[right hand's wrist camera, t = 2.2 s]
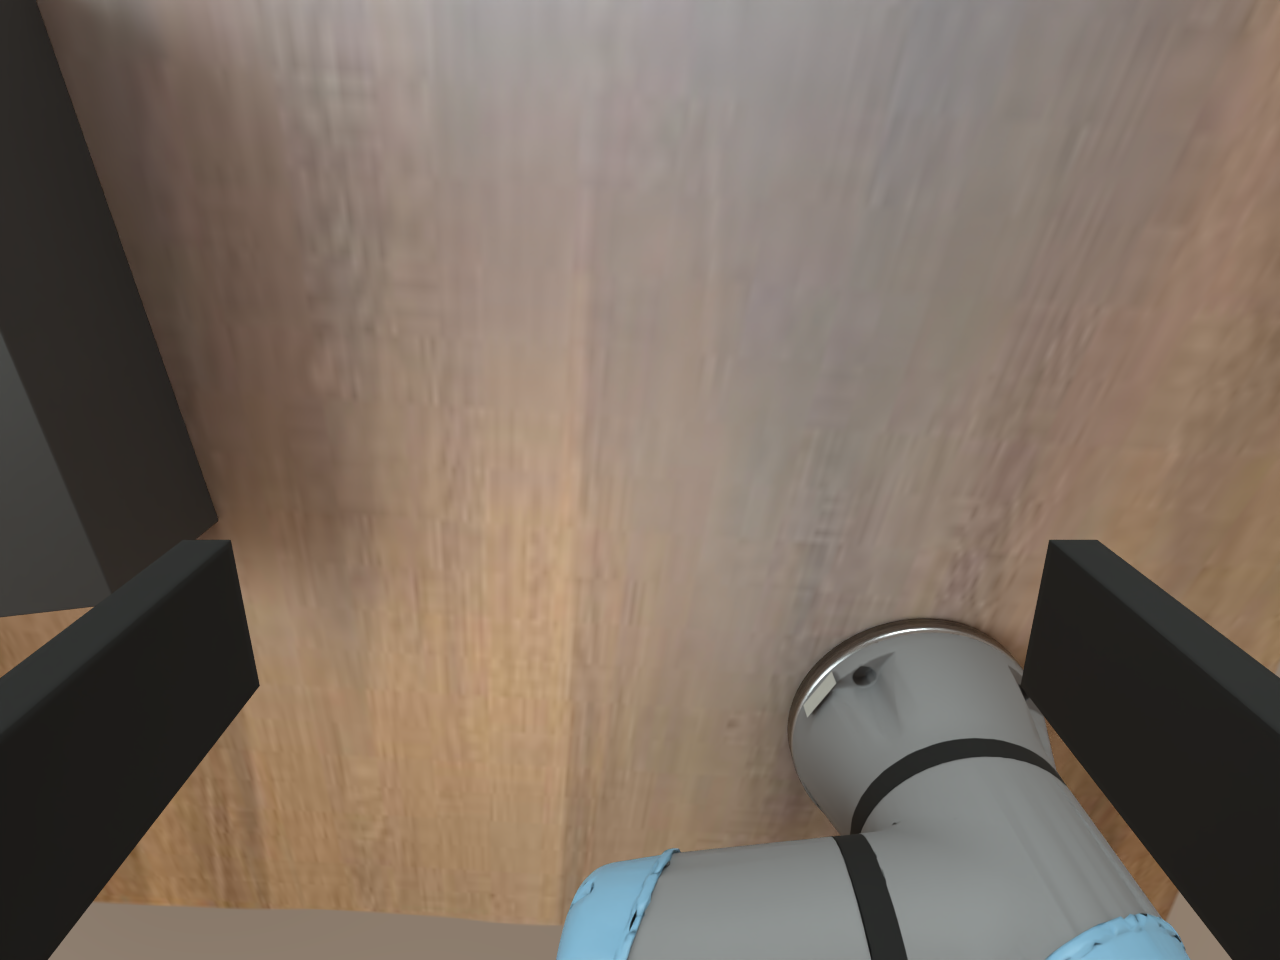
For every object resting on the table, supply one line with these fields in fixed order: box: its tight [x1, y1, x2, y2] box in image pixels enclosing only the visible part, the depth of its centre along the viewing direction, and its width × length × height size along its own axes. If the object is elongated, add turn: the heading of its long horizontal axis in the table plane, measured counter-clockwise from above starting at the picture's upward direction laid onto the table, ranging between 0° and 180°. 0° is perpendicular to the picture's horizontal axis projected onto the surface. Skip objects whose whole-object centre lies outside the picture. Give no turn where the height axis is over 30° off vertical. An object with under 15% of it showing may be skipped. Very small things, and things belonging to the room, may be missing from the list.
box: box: [0, 0, 218, 617], centre depth 35 cm, size 27×6×9 cm, turn 7°
